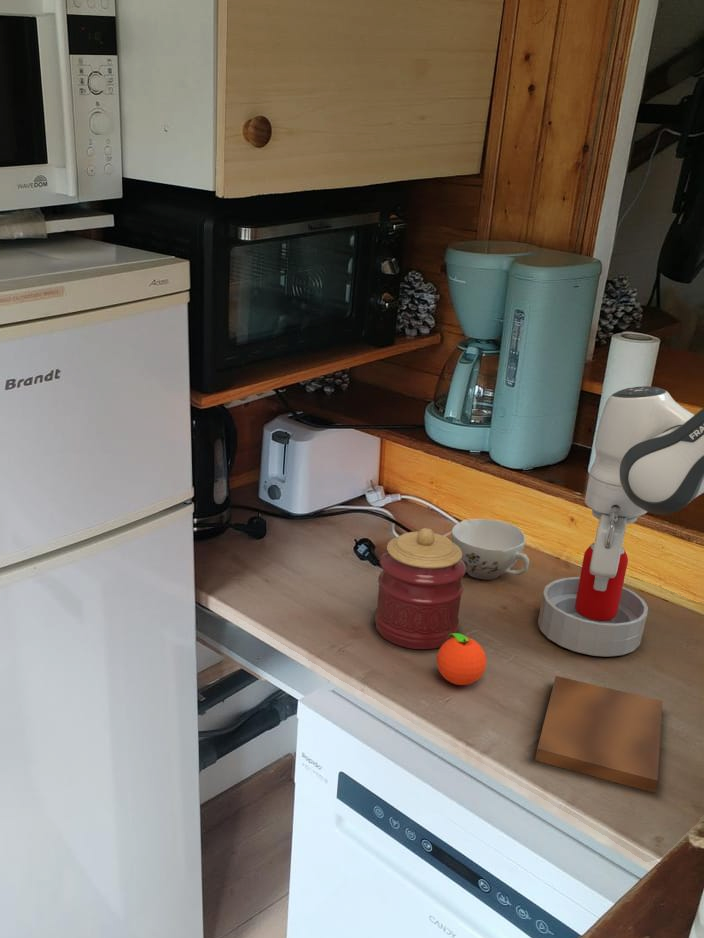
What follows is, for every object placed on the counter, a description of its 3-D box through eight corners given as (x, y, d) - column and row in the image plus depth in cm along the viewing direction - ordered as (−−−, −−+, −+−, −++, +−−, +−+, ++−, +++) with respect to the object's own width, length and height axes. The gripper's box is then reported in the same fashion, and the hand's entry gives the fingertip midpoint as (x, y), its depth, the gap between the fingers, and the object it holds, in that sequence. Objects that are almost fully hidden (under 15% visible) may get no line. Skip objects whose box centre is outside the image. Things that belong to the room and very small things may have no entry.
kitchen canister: (357, 630, 144) (366, 529, 136) (402, 601, 152) (413, 504, 145) (429, 661, 136) (442, 556, 128) (472, 628, 144) (487, 528, 137)
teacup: (432, 568, 163) (437, 528, 160) (478, 551, 170) (483, 512, 166) (499, 602, 152) (506, 559, 149) (545, 582, 159) (553, 541, 155)
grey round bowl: (642, 621, 147) (649, 589, 144) (636, 668, 134) (645, 634, 132) (544, 601, 153) (550, 569, 150) (531, 644, 140) (537, 611, 138)
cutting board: (659, 712, 125) (662, 700, 124) (654, 793, 110) (657, 780, 109) (553, 687, 130) (555, 675, 129) (534, 760, 115) (537, 748, 114)
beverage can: (614, 629, 138) (628, 559, 133) (571, 620, 141) (584, 551, 135) (617, 611, 143) (631, 543, 138) (575, 603, 146) (588, 535, 140)
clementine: (422, 667, 134) (427, 626, 131) (464, 660, 136) (470, 620, 133) (448, 698, 127) (454, 655, 124) (492, 690, 129) (499, 648, 126)
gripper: (637, 524, 123) (619, 613, 129) (644, 475, 140) (628, 555, 146) (588, 517, 126) (572, 604, 132) (601, 469, 142) (586, 548, 148)
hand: (601, 578), depth 139 cm, fingers closed on beverage can, 6 cm apart
